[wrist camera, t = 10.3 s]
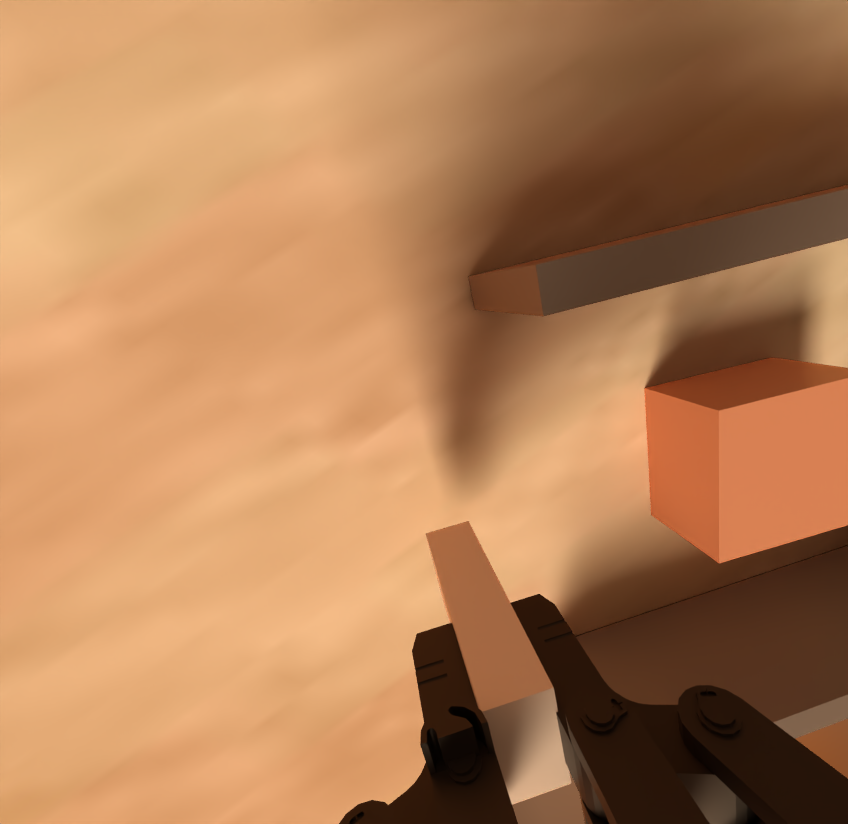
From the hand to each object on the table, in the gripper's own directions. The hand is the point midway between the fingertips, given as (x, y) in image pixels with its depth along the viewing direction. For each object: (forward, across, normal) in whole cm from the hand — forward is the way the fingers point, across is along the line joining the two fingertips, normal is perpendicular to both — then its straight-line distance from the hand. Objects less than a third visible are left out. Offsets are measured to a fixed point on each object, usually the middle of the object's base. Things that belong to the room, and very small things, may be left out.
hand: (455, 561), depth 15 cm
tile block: (+4, +12, 0) cm, 13 cm away
